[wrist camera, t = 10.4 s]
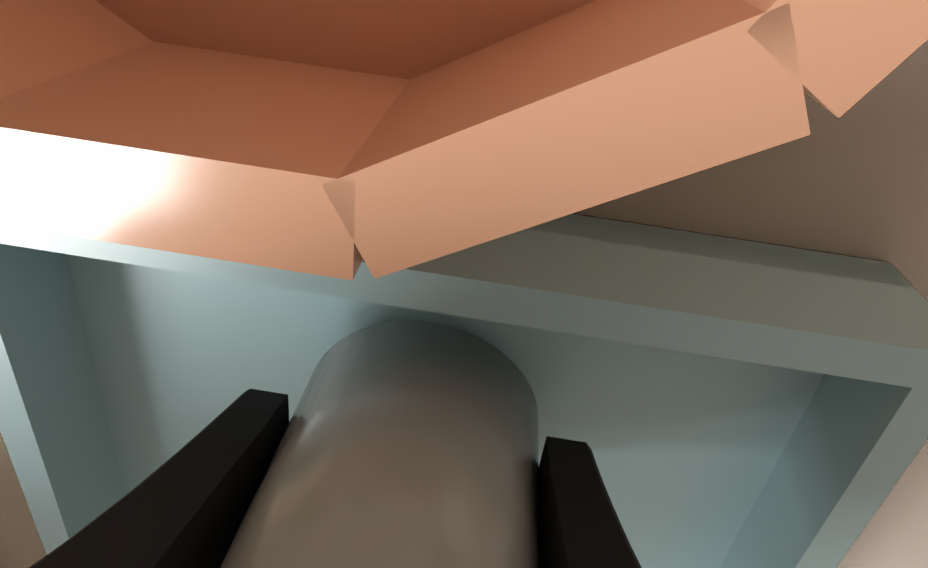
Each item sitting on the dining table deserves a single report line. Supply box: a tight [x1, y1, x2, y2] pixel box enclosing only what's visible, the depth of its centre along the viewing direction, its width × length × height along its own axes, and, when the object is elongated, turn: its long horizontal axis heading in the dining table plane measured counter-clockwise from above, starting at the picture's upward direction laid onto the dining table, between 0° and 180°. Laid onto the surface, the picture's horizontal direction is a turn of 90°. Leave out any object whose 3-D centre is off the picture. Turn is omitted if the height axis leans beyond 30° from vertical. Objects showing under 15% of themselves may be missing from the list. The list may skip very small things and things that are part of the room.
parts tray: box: [0, 214, 928, 568], centre depth 13 cm, size 14×14×2 cm
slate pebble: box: [220, 321, 539, 568], centre depth 9 cm, size 4×4×5 cm
